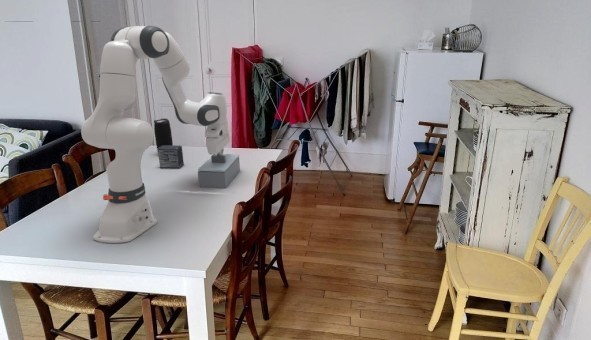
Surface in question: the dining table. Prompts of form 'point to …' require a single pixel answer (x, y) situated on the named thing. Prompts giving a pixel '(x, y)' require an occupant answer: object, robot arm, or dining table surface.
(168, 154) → the small box
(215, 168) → the lid
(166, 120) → the portable speaker
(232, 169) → the block
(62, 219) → the dining table surface
